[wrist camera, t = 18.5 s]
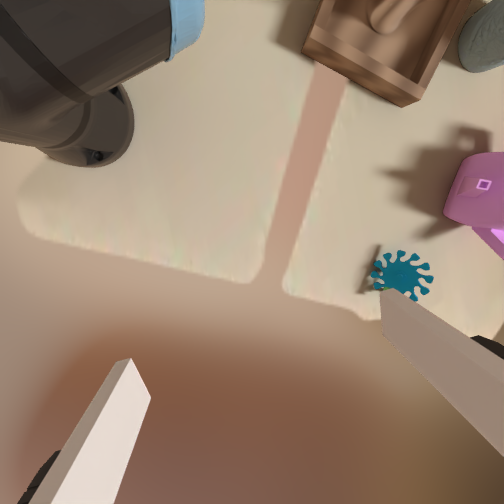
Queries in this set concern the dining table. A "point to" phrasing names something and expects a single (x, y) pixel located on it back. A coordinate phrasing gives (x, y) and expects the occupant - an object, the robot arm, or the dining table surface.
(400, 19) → the beer glass
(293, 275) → the dining table surface
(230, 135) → the dining table surface
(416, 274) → the teal spiky toy
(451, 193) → the teakettle
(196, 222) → the dining table surface
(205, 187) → the dining table surface
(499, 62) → the grey green cup
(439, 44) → the tray
